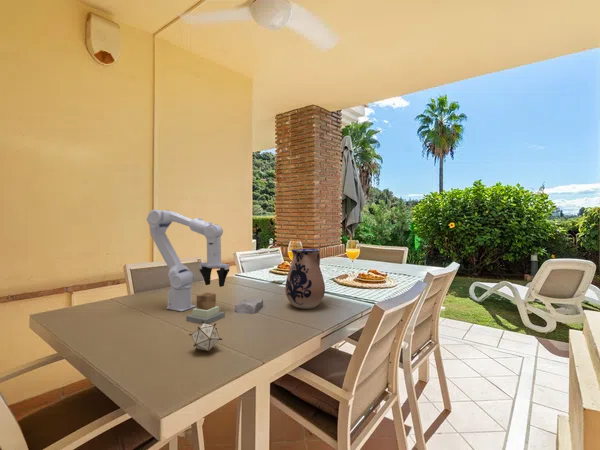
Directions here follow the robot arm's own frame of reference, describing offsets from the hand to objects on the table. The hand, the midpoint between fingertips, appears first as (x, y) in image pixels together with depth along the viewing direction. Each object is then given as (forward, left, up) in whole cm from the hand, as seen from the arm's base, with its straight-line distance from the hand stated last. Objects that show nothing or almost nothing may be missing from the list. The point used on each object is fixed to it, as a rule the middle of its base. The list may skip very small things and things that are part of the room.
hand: (214, 285), depth 126 cm
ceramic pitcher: (+32, +24, -11) cm, 41 cm away
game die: (+25, -31, -11) cm, 41 cm away
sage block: (+5, -10, -9) cm, 14 cm away
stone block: (+12, +8, -11) cm, 18 cm away
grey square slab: (+5, -10, -11) cm, 16 cm away
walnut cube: (+5, -10, -6) cm, 12 cm away
